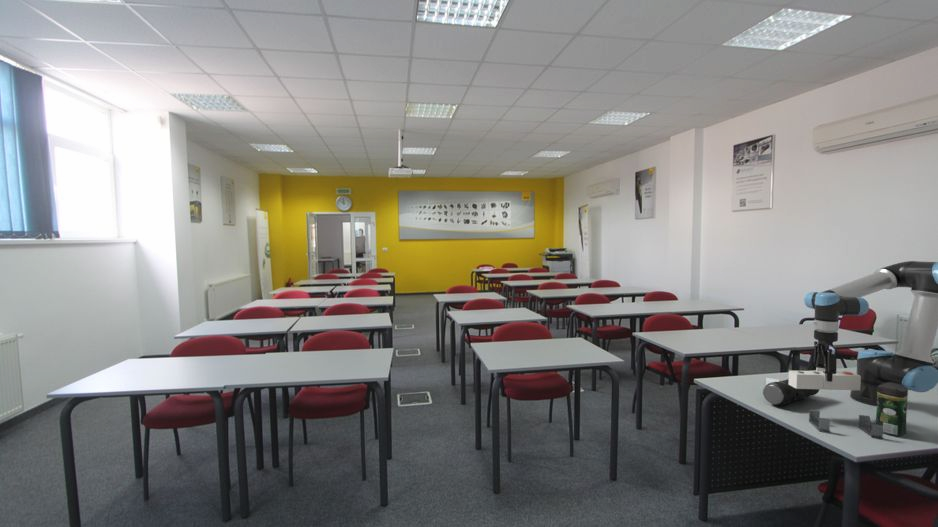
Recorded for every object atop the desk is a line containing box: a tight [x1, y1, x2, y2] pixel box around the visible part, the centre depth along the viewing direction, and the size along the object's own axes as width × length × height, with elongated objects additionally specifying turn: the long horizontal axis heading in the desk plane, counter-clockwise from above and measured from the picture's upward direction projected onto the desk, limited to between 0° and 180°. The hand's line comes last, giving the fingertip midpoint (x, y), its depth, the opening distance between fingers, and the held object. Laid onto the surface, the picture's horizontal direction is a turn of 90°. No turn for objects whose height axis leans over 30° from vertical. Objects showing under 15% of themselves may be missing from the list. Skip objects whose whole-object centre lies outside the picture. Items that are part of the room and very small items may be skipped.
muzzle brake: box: [762, 378, 820, 406], centre depth 189 cm, size 10×28×10 cm, turn 115°
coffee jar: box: [875, 382, 909, 437], centre depth 160 cm, size 10×8×19 cm
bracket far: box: [808, 409, 831, 434], centre depth 164 cm, size 3×9×5 cm, turn 162°
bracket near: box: [857, 414, 884, 440], centre depth 159 cm, size 3×9×5 cm, turn 162°
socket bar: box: [788, 370, 861, 391], centre depth 173 cm, size 24×5×7 cm, turn 84°
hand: (823, 385), depth 173 cm, fingers closed on socket bar, 6 cm apart
